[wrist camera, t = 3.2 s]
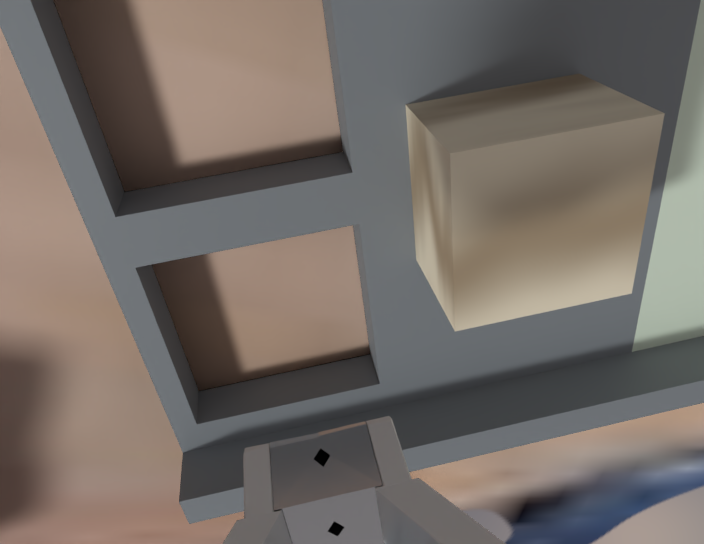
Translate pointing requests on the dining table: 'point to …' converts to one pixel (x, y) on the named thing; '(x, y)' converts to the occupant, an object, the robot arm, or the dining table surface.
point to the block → (530, 196)
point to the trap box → (407, 237)
